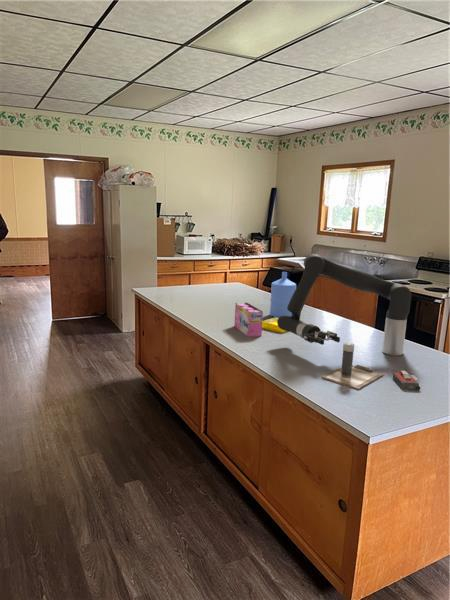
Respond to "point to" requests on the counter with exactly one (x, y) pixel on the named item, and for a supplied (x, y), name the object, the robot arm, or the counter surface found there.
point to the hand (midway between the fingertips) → (331, 341)
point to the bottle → (347, 360)
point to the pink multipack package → (248, 319)
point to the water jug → (281, 296)
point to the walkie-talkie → (406, 380)
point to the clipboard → (354, 377)
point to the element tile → (272, 325)
